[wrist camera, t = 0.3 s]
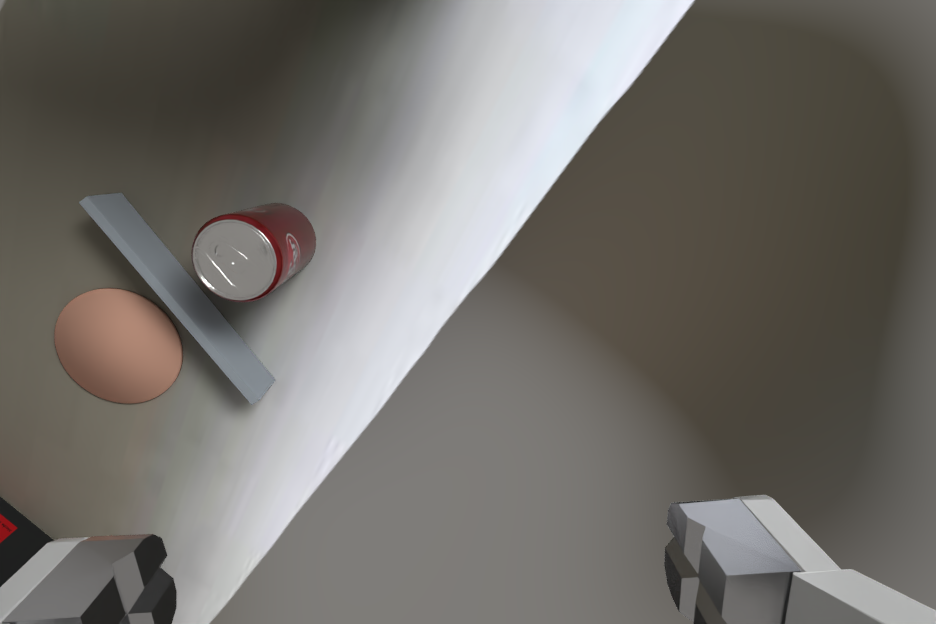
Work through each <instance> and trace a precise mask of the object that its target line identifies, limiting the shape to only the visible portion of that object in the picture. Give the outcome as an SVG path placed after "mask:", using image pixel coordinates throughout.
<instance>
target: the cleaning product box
mask: <svg viewBox="0 0 936 624" xmlns="http://www.w3.org/2000/svg"><path fill="white" fill-rule="evenodd" d="M52 541H54V540H53V539H51V538H50V537H49V536H48V535H46V534H45V533H44V532H43V531H42V530H40V529H39V528H38V527H37V526H35V525H34V524H33V523H32V522H31V521H29V520H28V519H27V518H26V517H24V516H23V515H22V514H21V513H19V512H18V511H17V510H16V509H15V508H13V507H12V506H11V505H10V504H8V503H7V502H6V501H5V500H4V499H2V498H1V497H0V587H1V586H2V585H3V584H4V583H5V582H6V581H8V580H9V579H10V578H11V577H12V576H13V575H14V574H15V573H16V572H17V571H18V570H19V569H20V568H21V567H22V566H23V565H25V564H26V563H27V562H28V561H29V560H30V559H31V558H32V557H33V556H34V555H35V554H36V553H37V552H38V551H39V550H40V549H42V548H43V547H44V546H45V545H46V544H47V543H49V542H52Z"/></svg>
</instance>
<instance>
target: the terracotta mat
mask: <svg viewBox="0 0 936 624" xmlns="http://www.w3.org/2000/svg"><path fill="white" fill-rule="evenodd" d="M55 346H56V350H57V354H58V356H59V359H60V361H61V363H62V365H63V366H64V368H65V370H66V371H67V372H68V374H69V375H70V376H71V377H72V378H73V379H74V380H75V382H77V383H78V384H79V385H80V386H81V387H83V388H84V389H85V390H87V391H88V392H90V393H92V394H94V395H96V396H98V397H100V398H103V399H105V400H109V401H112V402H118V403H140V402H145V401H148V400H151V399H153V398H155V397H157V396H159V395H160V394H162V393H163V392H165V391H166V390H167V389H168V388H169V387H170V386H171V385H172V384H173V383H174V382H175V380H176V378H177V377H178V375H179V372H180V370H181V366H182V361H183V349H182V343H181V339H180V336H179V334H178V331H177V329H176V327H175V326H174V324H173V323H172V321H171V320H170V318H169V317H168V316H167V315H166V313H165V312H164V311H163V310H161V309H160V308H159V307H158V306H157V305H156V304H154V303H153V302H152V301H150V300H148V299H147V298H145V297H143V296H141V295H139V294H136V293H134V292H131V291H127V290H123V289H116V288H102V289H96V290H92V291H89V292H86V293H83V294H81V295H79V296H77V297H76V298H74V299H73V300H72V301H70V302H69V303H68V304H67V305H66V306H65V308H64V309H63V310H62V312H61V313H60V315H59V317H58V320H57V323H56V327H55Z"/></svg>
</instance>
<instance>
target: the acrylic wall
mask: <svg viewBox="0 0 936 624" xmlns="http://www.w3.org/2000/svg"><path fill="white" fill-rule="evenodd" d="M79 203H80V204H81V206H82V207H83V208H84V209H85V210H86V211H87V213H88V214H89V215H90V216H91V217H92V219H93V220H94V221H95V222H96V223H97V224H98V226H99V227H100V228H101V229H102V230H103V231H104V233H105V234H106V235H107V236H108V237H109V238H110V240H111V241H112V242H113V243H114V244H115V245H116V247H117V248H118V249H119V250H120V251H121V252H122V254H123V255H124V256H125V257H126V258H127V260H128V261H129V262H130V263H131V264H132V265H133V267H134V268H135V269H136V270H137V271H138V272H139V274H140V275H141V276H142V277H143V278H144V279H145V281H146V282H147V283H148V284H149V285H150V286H151V288H152V289H153V290H154V291H155V292H156V294H157V295H158V296H159V297H160V298H161V299H162V301H163V302H164V303H165V304H166V305H167V306H168V308H169V309H170V310H171V311H172V312H173V313H174V315H175V316H176V317H177V318H178V319H179V320H180V322H181V323H182V324H183V325H184V326H185V328H186V329H187V330H188V331H189V332H190V333H191V335H192V336H193V337H194V338H195V339H196V340H197V342H198V343H199V344H200V345H201V346H202V347H203V349H204V350H205V351H206V352H207V353H208V354H209V356H210V357H211V358H212V359H213V360H214V361H215V363H216V364H217V365H218V366H219V367H220V369H221V370H222V371H223V372H224V373H225V374H226V376H227V377H228V378H229V379H230V380H231V381H232V383H233V384H234V385H235V386H236V387H237V388H238V390H239V391H240V392H241V393H242V394H243V395H244V397H245V398H246V399H247V400H248V401H249V403H250V404H251V405H252V404H254V403H256V402H257V401H259V400H260V399H261V397H262V396H263V395H264V394H265V392H266V391H267V390H268V389H269V387H270V386H271V385H272V384H273V382H274V381H275V379H274V377H273V376H272V375H271V374H270V373H269V371H268V370H267V369H266V368H265V366H264V365H263V364H262V363H261V362H260V360H259V359H258V358H257V357H256V356H255V354H254V353H253V352H252V351H251V349H250V348H249V347H248V346H247V345H246V343H245V342H244V341H243V340H242V339H241V337H240V336H239V335H238V334H237V332H236V331H235V330H234V329H233V328H232V326H231V325H230V324H229V323H228V322H227V320H226V319H225V318H224V317H223V315H222V314H221V313H220V312H219V311H218V309H217V308H216V307H215V306H214V305H213V303H212V302H211V301H210V300H209V298H208V297H207V296H206V295H205V294H204V292H203V291H202V290H201V289H200V288H199V286H198V285H197V284H196V283H195V281H194V280H193V279H192V278H191V277H190V275H189V274H188V273H187V272H186V271H185V269H184V268H183V267H182V266H181V264H180V263H179V262H178V261H177V260H176V258H175V257H174V256H173V255H172V254H171V252H170V251H169V250H168V249H167V247H166V246H165V245H164V244H163V243H162V241H161V240H160V239H159V238H158V237H157V235H156V234H155V233H154V232H153V230H152V229H151V228H150V227H149V226H148V224H147V223H146V222H145V221H144V220H143V218H142V217H141V216H140V215H139V213H138V212H137V211H136V210H135V209H134V207H133V206H132V205H131V204H130V203H129V201H128V200H127V199H126V198H125V196H124V195H123V194H122V193H114V194H104V195H94V196H87V197H85V198H84V199H83V200H81V201H80V202H79Z"/></svg>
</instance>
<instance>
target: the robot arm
mask: <svg viewBox="0 0 936 624" xmlns="http://www.w3.org/2000/svg"><path fill="white" fill-rule="evenodd" d="M667 525H668V527H669V529H670V530H671V532H672V534H673V535H674V538H673V539H672V540H671V541H670V542H669V543H668V545H667V546H666V547H665V562H664V564H665V572H666V578H667V584H668V587H669V590H670V593H671V596H672V598H673V600H674V602H675V604H676V607H677V609H678V611H679V612H680V613H681V614H683V615H684V616H685V617H687V618H688V619H689V620H691V621H692V622H693V623H694V624H936V610H934V609H932V608H929V607H927V606H925V605H923V604H921V603H919V602H917V601H915V600H913V599H911V598H909V597H907V596H905V595H903V594H901V593H899V592H897V591H895V590H893V589H891V588H889V587H887V586H884V585H883V584H881V583H879V582H877V581H875V580H873V579H871V578H869V577H866V576H865V575H862V574H861V573H859V572H857V571H855V570H852V569H847V570H841V569H840V568H839V567H838V566H837V565H836V564H835V563H834V562H833V561H832V560H831V559H830V557H828V555H827V554H826V553H825V552H824V551H823V550H822V549H821V548H820V547H819V546H818V545H817V544H816V543H815V542H814V541H813V540H812V539H811V538H810V537H809V536H808V535H807V534H806V533H805V532H804V530H802V528H801V527H800V526H799V525H798V524H797V523H796V522H795V521H794V520H793V519H792V518H791V517H790V516H789V515H788V514H787V513H786V512H785V511H784V510H783V509H782V508H781V507H780V505H778V503H777V502H776V501H775V500H774V499H772V498H771V497H768V496H766V495H758V496H757V495H756V496H746V497H734V498H733V499H720V500H704V501H690V502H676V503H675V502H674V503H671V505H670V507H669V510H668V517H667ZM166 557H167V553H166V550H165V547H164V543H163V540H162V538H161V537H158V536H156V535H154V534H146V535H120V536H94V537H90V538H89V537H79V538H60V539H57V540H54V541H52V542H49V543H47V544H46V545H45V546H44V547H43V548H42V549H40V550H39V551H38V552H37V553H36V554H35V555H34V556H33V557H32V558H31V559H30V560H29V561H28V562H27V563H26V564H25V565H23V566H22V567H21V568H20V569H19V570H18V571H17V572H16V573H15V574H14V575H13V576H12V577H11V578H10V579H9V580H8V581H6V582H5V583H4V584H3V585H2V586H1V587H0V624H172V621H173V617H174V614H175V610H176V587H175V583H174V579H173V578H172V577H171V576H170V575H169V574H168V573H166V572H165V571H164V570H163V569H162V568H161V566H162V564H163V562H164V560H165V559H166Z"/></svg>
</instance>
